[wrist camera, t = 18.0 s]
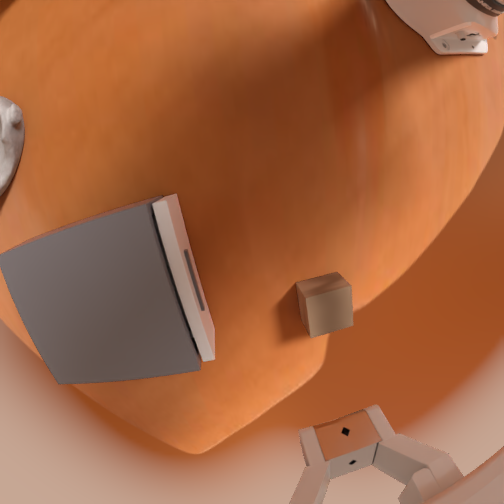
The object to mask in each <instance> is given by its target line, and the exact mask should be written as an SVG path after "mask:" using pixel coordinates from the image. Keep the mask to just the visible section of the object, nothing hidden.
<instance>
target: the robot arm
mask: <svg viewBox="0 0 504 504" xmlns="http://www.w3.org/2000/svg"><path fill="white" fill-rule="evenodd" d="M386 2H387V3H388V5H389V6H390V7H391V8H392V9H393V11H394V12H395V13H396V14H397V15H398V16H399V17H400V18H401V19H402V20H403V21H404V22H405V23H406V24H407V25H409V26H410V27H411V28H412V29H414V30H415V31H416V32H418V33H419V34H420V35H421V36H422V37H423V38H424V39H425V40H426V42H427V43H428V44H429V45H430V47H431V48H432V49H433V50H434V51H435V52H436V53H437V54H440V55H443V54H485V53H487V52H488V45H487V39H488V38H491V37H494V36H496V35H497V33H498V20H497V16H498V15H500V14H502V13H504V0H386ZM299 437H300V443H301V447H302V452H303V456H304V459H305V463H306V466H307V467H305V469H304V471H303V474H302V476H301V478H300V481H299V483H298V486H297V488H296V490H295V492H294V494H293V496H292V498H291V501H290V503H289V504H322V502H323V499H324V497H325V494H326V491H327V488H328V485H329V482H330V479H333V478H336V477H339V476H341V475H344V474H347V473H349V472H353V471H356V470H358V469H361V468H364V467H367V466H370V465H372V464H373V466H375V467H376V468H378V469H379V470H381V471H382V472H384V473H386V474H387V475H389V476H391V477H393V478H394V479H396V480H398V481H399V482H401V483H403V484H405V485H406V487H405V489H404V490H403V492H402V493H401V495H400V496H399V498H398V499H399V502H400V504H504V446H503V447H502V448H501V449H500V450H499V451H497V452H496V453H495V454H494V455H493V456H491V457H490V458H489V459H488V460H486V461H485V462H484V463H483V464H481V465H480V466H479V467H477V468H476V469H475V470H473V471H472V472H470V473H469V474H468V475H467V476H465V477H464V476H463V475H462V473H461V472H460V470H459V469H458V467H457V466H456V464H455V463H454V461H453V459H452V458H451V456H450V455H449V453H446V452H444V451H441V450H439V449H436V448H433V447H431V446H428V445H425V444H423V443H420V442H419V441H416V440H413V439H411V438H409V437H407V436H404V435H402V434H397V435H396V434H395V432H394V431H393V429H392V428H391V426H390V424H389V423H388V421H387V419H386V417H385V416H384V414H383V413H382V411H381V409H380V407H379V406H378V405H373V406H371V407H368V408H366V409H362V410H359V411H357V412H354V413H352V414H349V415H346V416H344V417H341V418H338V419H335V420H332V421H329V422H325V423H322V424H319V425H315V426H311V427H307V428H303V429H300V430H299Z"/></svg>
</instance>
